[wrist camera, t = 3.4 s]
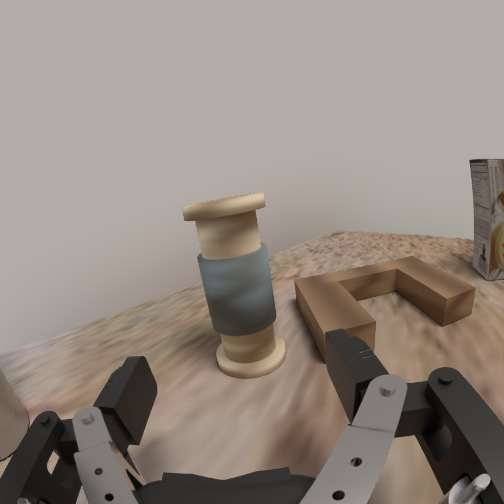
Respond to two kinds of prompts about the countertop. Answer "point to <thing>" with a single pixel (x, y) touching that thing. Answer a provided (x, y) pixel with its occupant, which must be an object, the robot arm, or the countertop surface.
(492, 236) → the coffee box
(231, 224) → the cord spool
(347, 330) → the notched board
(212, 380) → the countertop surface
